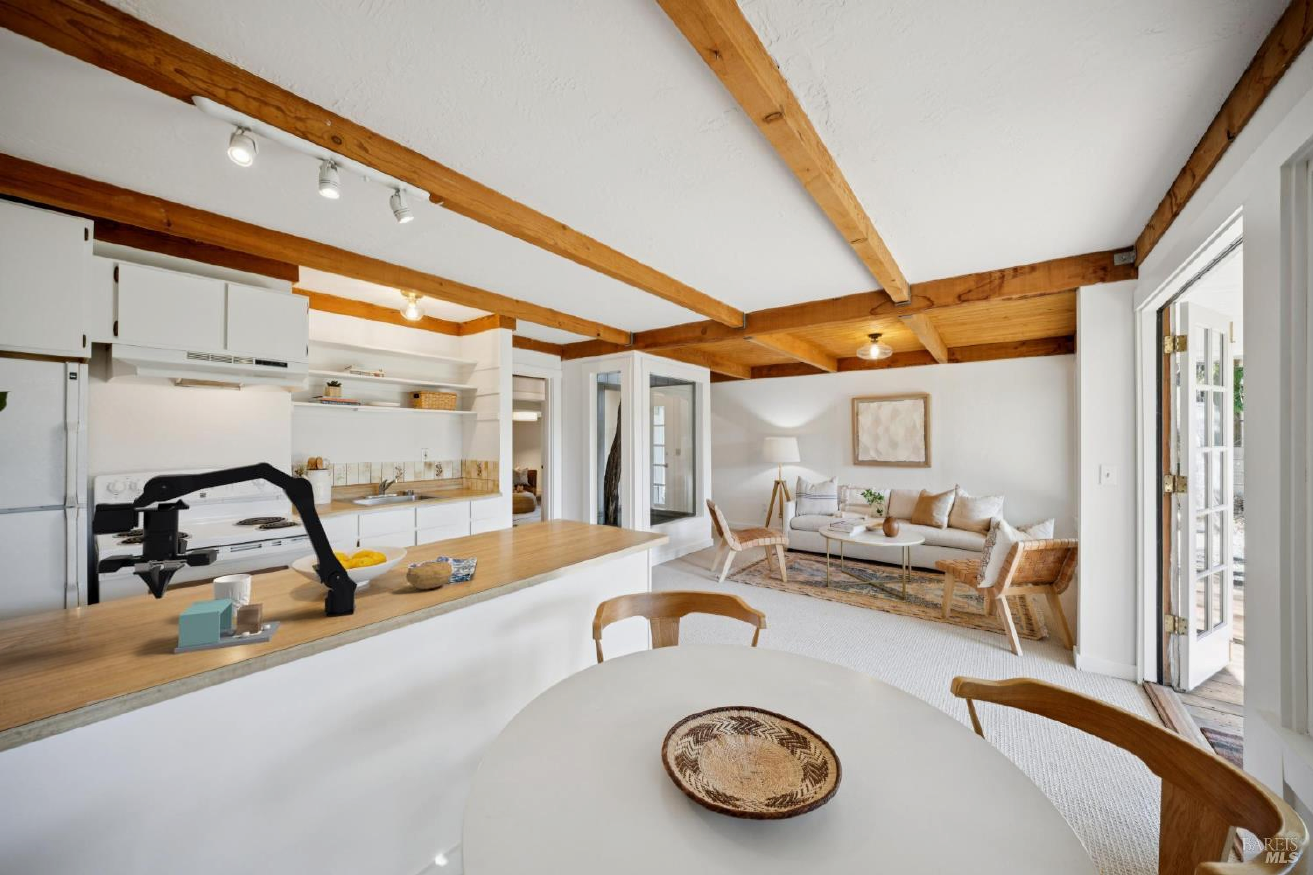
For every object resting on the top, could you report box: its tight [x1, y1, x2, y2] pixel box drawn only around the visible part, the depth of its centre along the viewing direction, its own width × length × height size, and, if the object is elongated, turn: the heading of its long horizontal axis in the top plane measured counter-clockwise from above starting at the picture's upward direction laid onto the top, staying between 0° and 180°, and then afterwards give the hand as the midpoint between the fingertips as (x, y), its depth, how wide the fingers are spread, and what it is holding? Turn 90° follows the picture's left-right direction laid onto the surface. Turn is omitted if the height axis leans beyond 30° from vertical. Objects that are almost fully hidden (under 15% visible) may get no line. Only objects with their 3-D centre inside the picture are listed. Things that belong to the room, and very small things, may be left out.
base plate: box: [173, 620, 281, 655], centre depth 118 cm, size 17×11×2 cm, turn 117°
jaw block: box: [236, 603, 263, 636], centre depth 120 cm, size 4×4×6 cm
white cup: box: [212, 573, 252, 619], centre depth 133 cm, size 8×8×10 cm
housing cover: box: [177, 598, 233, 648], centre depth 116 cm, size 7×10×7 cm
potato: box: [405, 561, 453, 590], centre depth 160 cm, size 10×14×8 cm
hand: (159, 598), depth 112 cm, fingers closed
